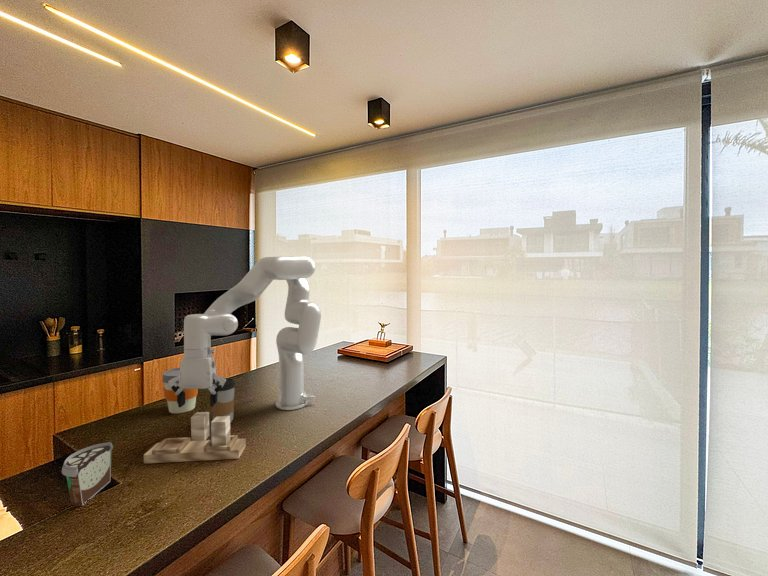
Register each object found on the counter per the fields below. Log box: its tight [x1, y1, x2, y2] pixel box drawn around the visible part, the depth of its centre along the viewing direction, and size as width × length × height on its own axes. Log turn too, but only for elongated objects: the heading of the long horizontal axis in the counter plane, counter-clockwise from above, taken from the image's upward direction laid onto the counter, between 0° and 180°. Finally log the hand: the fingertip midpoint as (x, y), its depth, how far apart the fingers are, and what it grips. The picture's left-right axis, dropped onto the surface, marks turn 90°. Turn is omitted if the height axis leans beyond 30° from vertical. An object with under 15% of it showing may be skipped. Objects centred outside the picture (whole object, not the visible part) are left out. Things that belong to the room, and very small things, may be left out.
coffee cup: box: [210, 377, 236, 424], centre depth 125 cm, size 8×8×15 cm
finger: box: [190, 411, 210, 441], centre depth 113 cm, size 5×4×8 cm
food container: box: [61, 441, 114, 507], centre depth 85 cm, size 12×6×10 cm, turn 5°
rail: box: [143, 416, 247, 465], centre depth 103 cm, size 26×7×10 cm, turn 96°
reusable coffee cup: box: [162, 367, 199, 414], centre depth 137 cm, size 13×13×15 cm
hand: (197, 405), depth 112 cm, fingers open, 9 cm apart
